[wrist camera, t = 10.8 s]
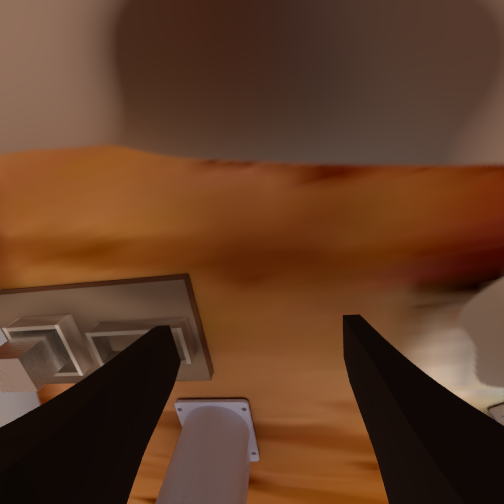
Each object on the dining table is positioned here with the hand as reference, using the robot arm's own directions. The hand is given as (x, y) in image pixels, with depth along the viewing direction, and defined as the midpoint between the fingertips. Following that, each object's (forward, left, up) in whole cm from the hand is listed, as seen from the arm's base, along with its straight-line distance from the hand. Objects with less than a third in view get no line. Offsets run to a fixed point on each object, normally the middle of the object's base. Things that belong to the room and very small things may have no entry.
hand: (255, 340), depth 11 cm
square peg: (-7, +22, -9) cm, 24 cm away
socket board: (-7, +17, -10) cm, 21 cm away
